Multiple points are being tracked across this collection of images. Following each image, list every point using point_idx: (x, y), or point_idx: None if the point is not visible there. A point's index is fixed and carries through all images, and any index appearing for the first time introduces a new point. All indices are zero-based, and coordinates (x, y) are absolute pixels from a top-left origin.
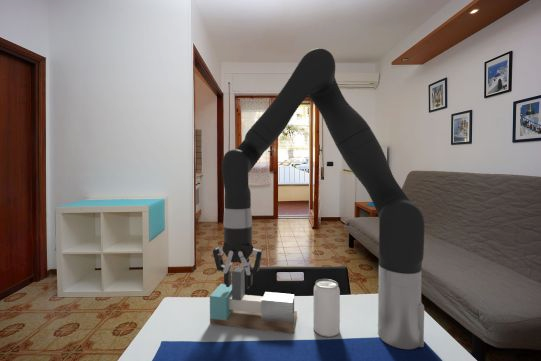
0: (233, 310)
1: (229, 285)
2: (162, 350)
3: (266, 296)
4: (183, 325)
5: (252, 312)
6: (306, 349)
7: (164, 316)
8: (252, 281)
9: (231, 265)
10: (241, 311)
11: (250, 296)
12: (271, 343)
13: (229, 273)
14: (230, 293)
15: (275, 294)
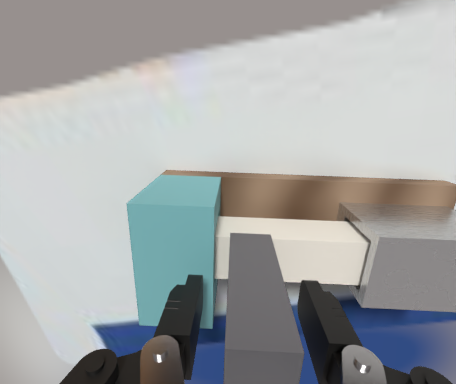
0: (223, 213)
1: (202, 295)
2: (117, 349)
3: (384, 278)
4: (101, 269)
5: (293, 217)
6: (437, 317)
7: (15, 236)
8: (340, 307)
9: (183, 380)
10: (253, 215)
11: (301, 249)
12: (353, 307)
13: (190, 355)
14: (213, 277)
15: (430, 255)
